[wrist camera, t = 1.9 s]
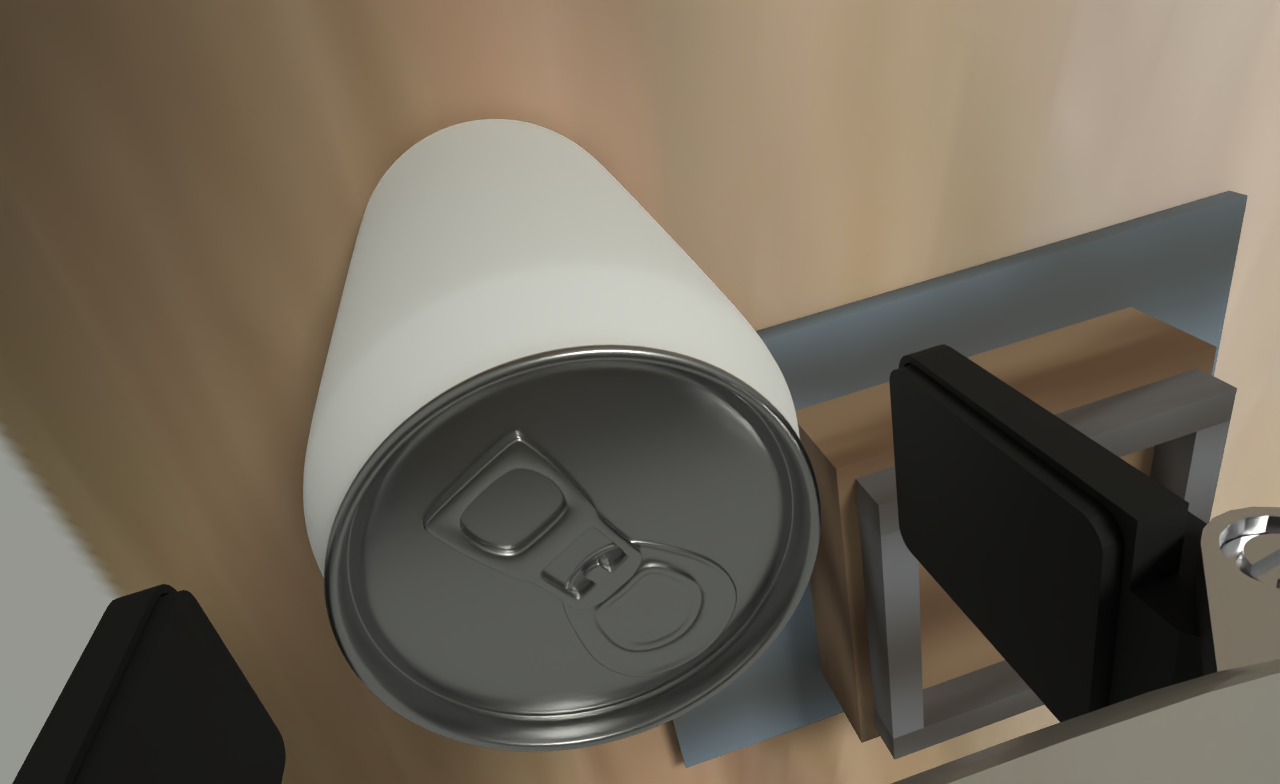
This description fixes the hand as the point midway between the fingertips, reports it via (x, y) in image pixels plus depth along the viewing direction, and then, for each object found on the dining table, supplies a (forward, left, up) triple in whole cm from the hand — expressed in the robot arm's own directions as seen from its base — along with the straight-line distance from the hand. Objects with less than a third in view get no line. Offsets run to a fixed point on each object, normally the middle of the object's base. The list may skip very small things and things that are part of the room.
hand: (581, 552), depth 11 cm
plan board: (+11, +12, -11) cm, 20 cm away
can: (-1, 0, -11) cm, 11 cm away
